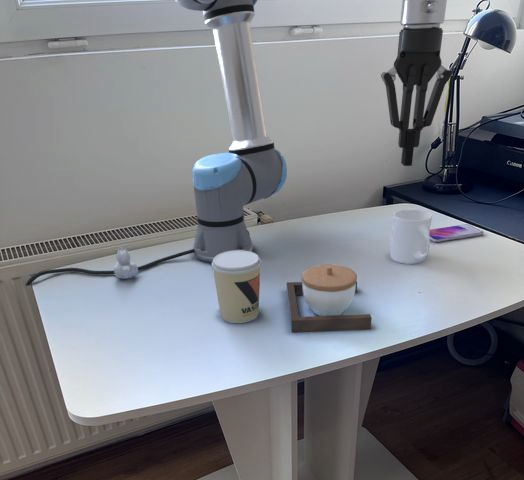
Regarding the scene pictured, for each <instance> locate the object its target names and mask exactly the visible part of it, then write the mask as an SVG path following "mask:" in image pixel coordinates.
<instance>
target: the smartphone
mask: <svg viewBox="0 0 524 480" xmlns="http://www.w3.org/2000/svg"><path fill="white" fill-rule="evenodd" d="M483 235H484V231H483V230H480V229H479V228H478V227H476V226H473V225H471V224H469V223H464V224H457V225H451V226H445V227H437V228H430V233H429V236H430V241H432V242H434V243H441V242H447V241H453V240H458V239H464V238H470V237H478V236H483Z"/></svg>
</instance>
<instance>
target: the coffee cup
mask: <svg viewBox="0 0 524 480" xmlns="http://www.w3.org/2000/svg"><path fill="white" fill-rule="evenodd" d="M261 265H262V261H261V259H260V256H259V255H258V254H257V253H255V252H254V251H253V252H250V251H244V250H233V251H227V252H223V253H220V254H218V255H217V256H215V257H214V259H213V262H212V263H211V267H212V271H213V278H214V285H215V289H216V297H217V302H218V303H217V304H218V307H219V308H218V309H219V313H220V314H219V315H220V317H221V319H222V320H223V321H225V322H227V323H230V324H246V323H248V322H252V321H254V320H256V319H257V317H258V316H259V313H260V291H261V289H260V288H261V287H260V286H261Z"/></svg>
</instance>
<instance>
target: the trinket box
mask: <svg viewBox="0 0 524 480" xmlns="http://www.w3.org/2000/svg"><path fill="white" fill-rule="evenodd" d="M357 280H358V274H357V272H356V271H354V270H353V269H351V268H350V267H347V266H346V265H345V266H344V265H342V264H341V265H340V264H331V263H327V264H326V263H325V264H318V265H313V266H310V267H308V268H306V269H305V270H303V272H302V273H301V282H302V289H303V295H302V296H303V299H304V301H305V303H306V305H307V307H308V308H309V309H311V310H312V312H313V314H315V315H316V316H332V315H342V313H343V312H344V311H345V310H347V309H348V308H349V307H350V306H351V304H352V302H353V300H354V298H355V294H356V293H355V288H356V282H357V283H358V281H357Z"/></svg>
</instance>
